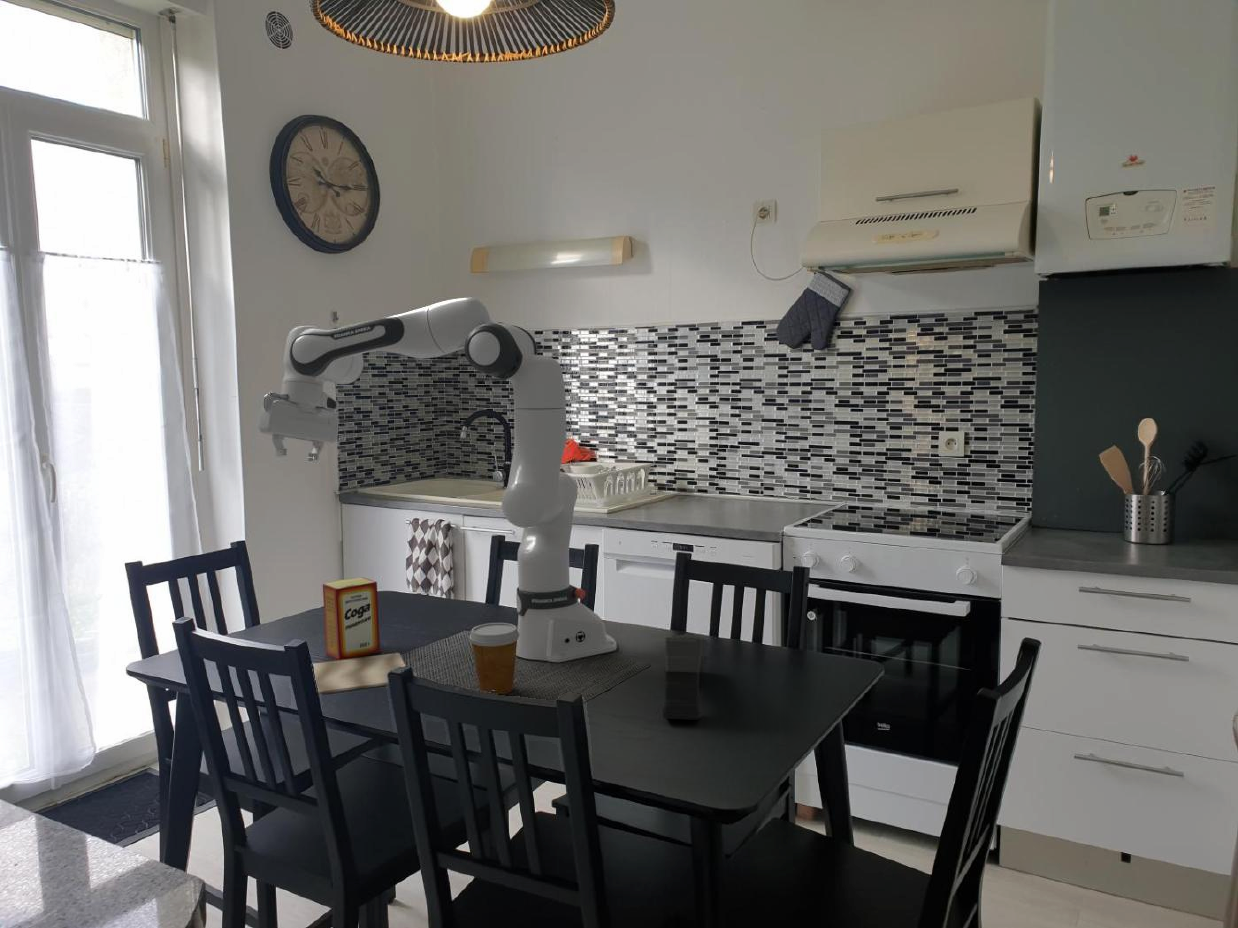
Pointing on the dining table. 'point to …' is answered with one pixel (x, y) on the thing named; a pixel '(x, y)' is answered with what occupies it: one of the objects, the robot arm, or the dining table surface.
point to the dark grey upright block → (683, 675)
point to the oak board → (355, 672)
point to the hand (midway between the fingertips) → (297, 459)
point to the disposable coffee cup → (495, 656)
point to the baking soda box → (351, 618)
